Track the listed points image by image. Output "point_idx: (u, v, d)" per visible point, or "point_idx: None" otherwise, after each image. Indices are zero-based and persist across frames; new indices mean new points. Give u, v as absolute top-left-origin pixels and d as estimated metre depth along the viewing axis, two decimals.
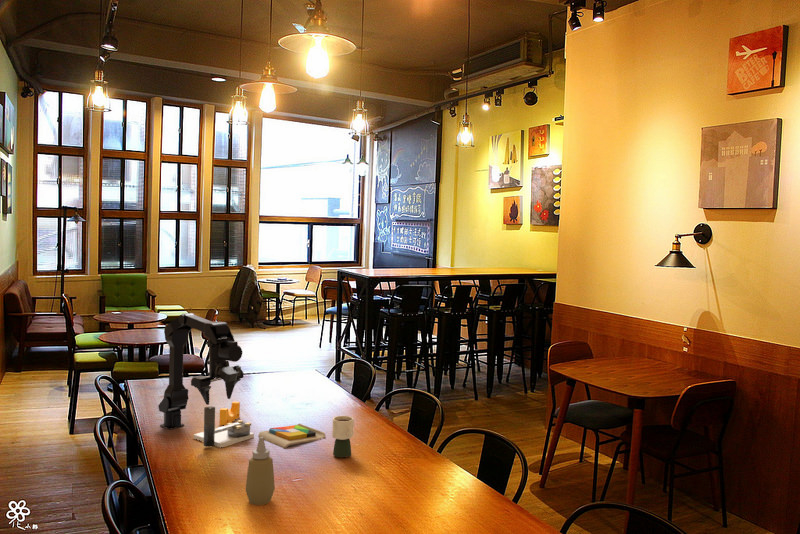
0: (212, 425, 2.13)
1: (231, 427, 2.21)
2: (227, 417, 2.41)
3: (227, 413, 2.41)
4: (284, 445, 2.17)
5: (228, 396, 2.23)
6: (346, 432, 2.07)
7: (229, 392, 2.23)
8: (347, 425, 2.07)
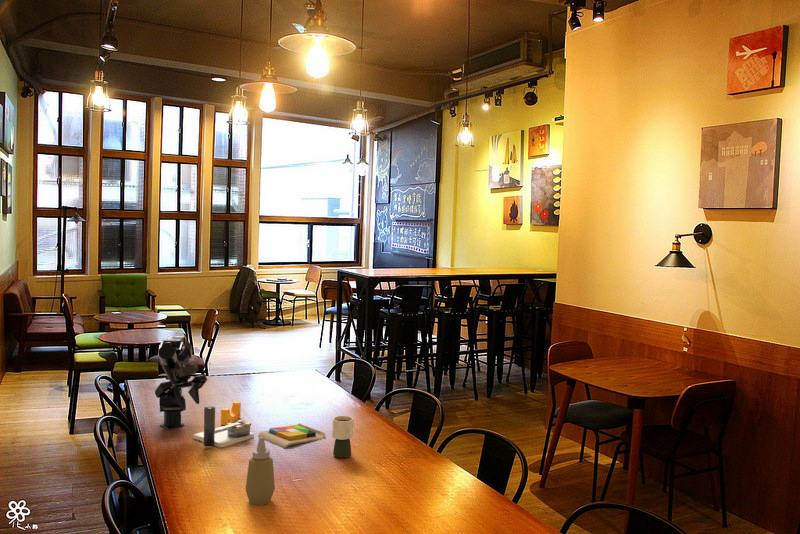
0: (212, 425, 2.13)
1: (231, 427, 2.21)
2: (228, 417, 2.41)
3: (228, 413, 2.41)
4: (284, 445, 2.17)
5: (197, 401, 2.24)
6: (346, 432, 2.07)
7: (196, 397, 2.25)
8: (347, 425, 2.07)
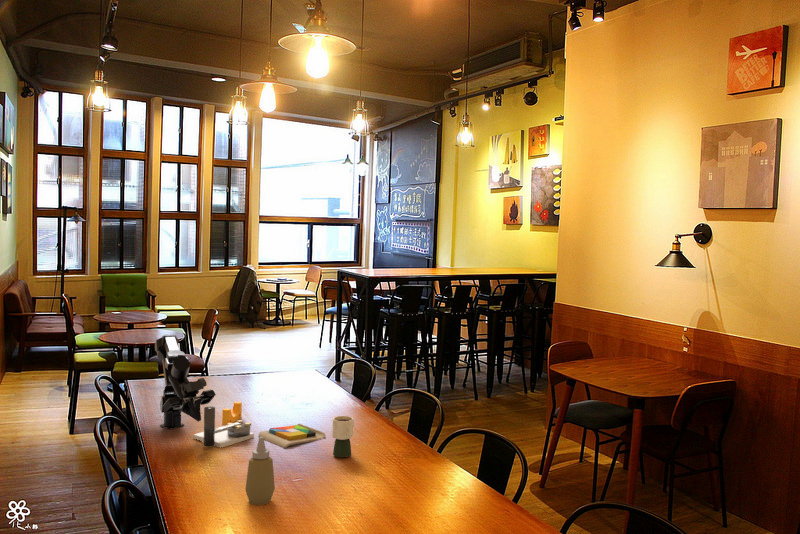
0: (212, 425, 2.13)
1: (231, 427, 2.21)
2: (230, 417, 2.41)
3: (230, 413, 2.40)
4: (284, 445, 2.17)
5: None
6: (346, 432, 2.07)
7: None
8: (347, 425, 2.07)
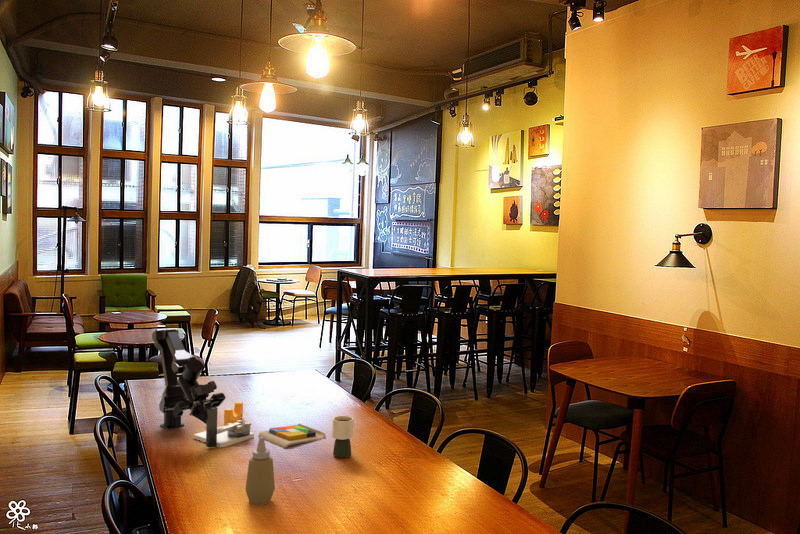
0: (215, 426, 2.13)
1: (232, 427, 2.21)
2: (232, 417, 2.40)
3: (232, 413, 2.40)
4: (284, 445, 2.17)
5: None
6: (346, 432, 2.07)
7: None
8: (347, 425, 2.07)
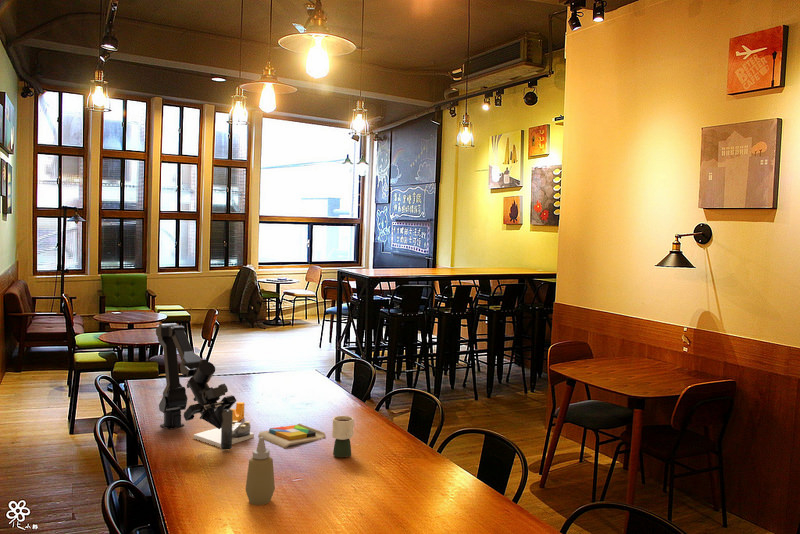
0: (232, 427, 2.12)
1: (237, 427, 2.21)
2: (234, 417, 2.40)
3: (234, 413, 2.40)
4: (284, 445, 2.17)
5: None
6: (346, 432, 2.07)
7: (220, 421, 2.14)
8: (347, 425, 2.07)
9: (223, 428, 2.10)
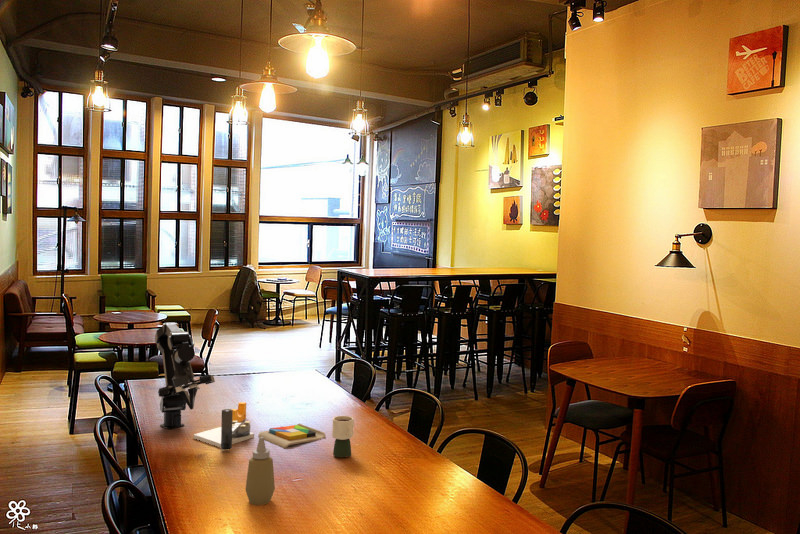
0: (232, 427, 2.12)
1: (237, 427, 2.21)
2: (236, 418, 2.40)
3: (236, 414, 2.40)
4: (284, 445, 2.17)
5: None
6: (346, 432, 2.07)
7: None
8: (347, 425, 2.07)
9: (223, 428, 2.10)
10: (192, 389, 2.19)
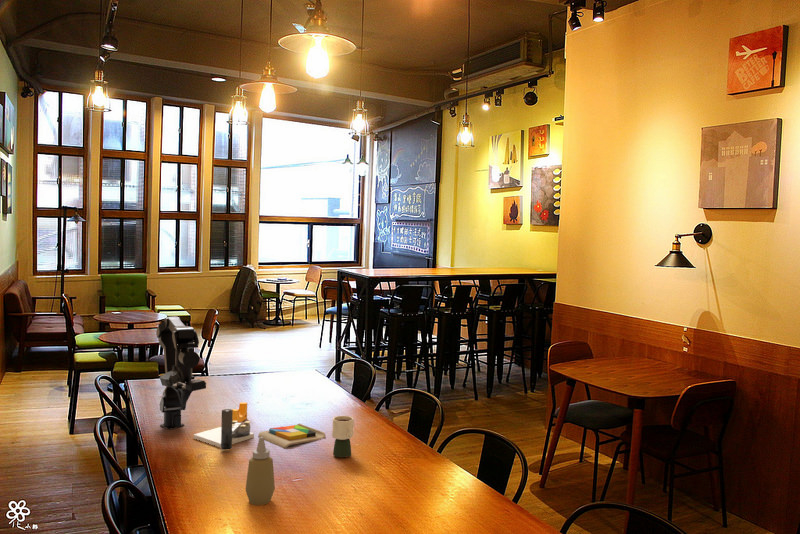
0: (232, 427, 2.12)
1: (237, 427, 2.21)
2: (237, 418, 2.40)
3: (238, 414, 2.40)
4: (284, 445, 2.17)
5: None
6: (346, 432, 2.07)
7: None
8: (347, 425, 2.07)
9: (223, 428, 2.10)
10: (180, 390, 2.19)
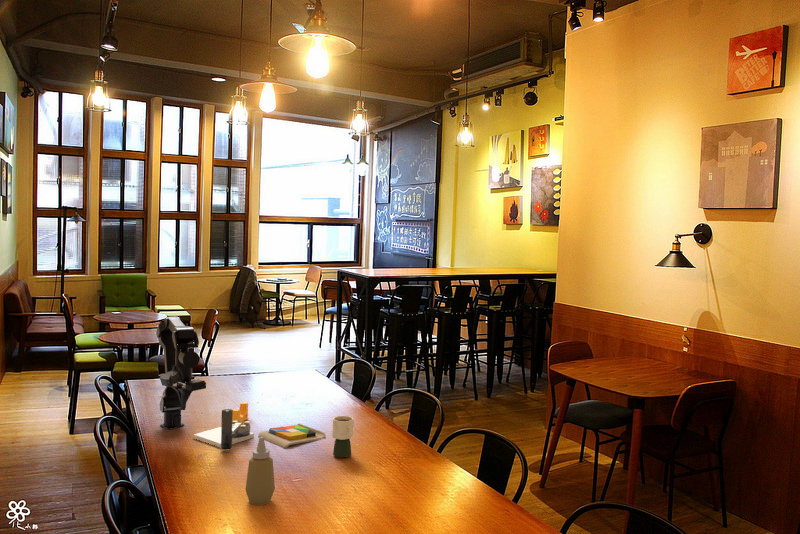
0: (232, 427, 2.12)
1: (237, 427, 2.21)
2: (238, 418, 2.40)
3: (238, 414, 2.40)
4: (284, 445, 2.17)
5: None
6: (346, 432, 2.07)
7: None
8: (347, 425, 2.07)
9: (223, 428, 2.10)
10: (180, 390, 2.19)
